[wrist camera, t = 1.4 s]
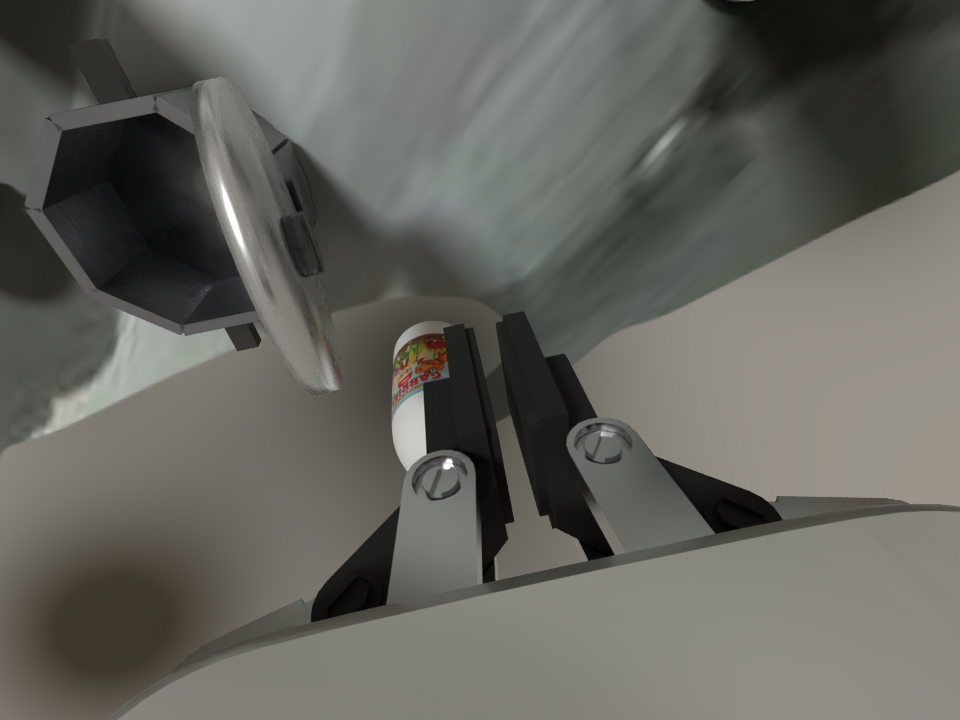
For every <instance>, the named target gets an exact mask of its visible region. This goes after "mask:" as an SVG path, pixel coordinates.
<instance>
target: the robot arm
mask: <svg viewBox="0 0 960 720" xmlns="http://www.w3.org/2000/svg"><path fill="white" fill-rule="evenodd" d="M728 1H733V2H742V1H753V0H728ZM496 329H497V335H498V342H499V348H500V354H501V360H502V367H503V373H504V379H505V385H506V392H507V398H508V404H509V409H510V413H511V417H512V420H513V424H514V427H515V431H516V434H517V438H518V441H519V445H520V449H521V452H522V456H523V459H524V463H525V466H526V469H527V473H528V477H529V480H530V484H531V487H532V490H533V495H534V498H535V501H536V505H537V508H538V512H539V515H540V516H545V515H548V516H549V519H550V522H551V526H552V529H554V528H557V529H559V530H561V531H563V532H565V533H567V534H569V535H571V536H572V537H573V540H574V544H575V547H576V549H577V552H578V554H579V556H580V558H581V560H582V562H581V563H576V564H572V565H567V566H562V567H558V568H553V569H549V570H544V571H539V572H535V573H530V574H526V575H521V576H516V577H512V578H507V579H502V580H498V564H497V559H496V554H497V553H498V552H499V551H500V549H501V548H502V546H503V545H504V544H505V542H506V541H507V540H508V536H507V531H506V526H505V524H507V523H512V522H514V518H513V512H512V507H511V501H510V496H509V491H508V485H507V480H506V475H505V469H504V464H503V459H502V453H501V448H500V442H499V437H498V432H497V428H496V423H495V418H494V414H493V410H492V406H491V401H490V397H489V393H488V389H487V384H486V380H485V376H484V372H483V368H482V363H481V359H480V355H479V351H478V347H477V342H476V338H475V334H474V329H473V328H468V329H465V328H464V324H460V325H454V326H450V327H445V328H443V331H444V339H445V347H446V354H447V362H448V370H449V378H444V379H439V380H434V381H430V382H425V383H423V395H424V415H425V435H426V454H427V455H425V456H423V457H421V458H420V459H419V460H417V461H416V462H415V463H414V464H413V465H412V466H411V467H410V469H409V470H408V472H407V474H406V477H405V480H404V485H403V492H402V499H401V505H400V506H399V507H398V508H397V510H395V511H394V512H393V514H392V515H391V516H390V517H389V518H388V519H387V520H386V521H385V522H384V523H383V524H382V525H381V526H380V527H379V528H378V529H377V530H376V531H375V532H374V533H373V534H372V535H371V536H370V537H369V538H368V539H367V540H366V541H365V543H363V544H362V546H361V547H360V548H359V549H358V550H357V551H356V552H355V553H354V554H353V555H352V556H351V557H350V558H349V559H348V560H347V561H346V562H345V563H344V564H343V565H342V566H341V567H340V568H339V569H338V570H337V571H336V572H335V573H334V574H333V576H331V578H330V579H329V580H328V581H327V582H326V583H325V584H324V586H323V587H322V588H321V590H320V591H319V592H318V594H317V596H316V598H314V599H312V600H310V601H308V602H306V603H305V602H304V601H303V600H302V598H301V599H299V600H297V601H295V602H292V603H290V604H288V605H286V606H284V607H282V608H280V609H278V610H276V611H274V612H271V613H269V614H267V615H265V616H263V617H261V618H259V619H257V620H254V621H252V622H250V623H248V624H247V625H244V626H242V627H240V628H238V629H236V630H233V631H231V632H229V633H227V634H225V635H223V636H221V637H219V638H217V639H214V640H212V641H211V642H208V643H206V644H204V645H202V646H200V647H199V648H198V649H196V650H194V651H193V652H191V653H189V654H188V655H187V656H186V657H185V658H184V659H183V660H182V661H181V662H180V663H179V664H178V665H177V666H176V667H175V669H174V670H173V672H172V673H171V675H169V676H167V677H166V678H164V679H162V680H161V681H159V682H157V683H156V684H154V685H152V686H151V687H149V688H148V689H146V690H145V691H143V692H142V693H140V694H139V695H137V696H136V697H135V698H134V699H132V700H130V701H129V702H128V703H127V704H125V705H124V706H123V707H122V708H120V709H119V710H118V711H117V712H115V713H114V714H113V715H112V716H111V717H110V718H109V719H107V720H960V507H958V506H949V505H941V504H909V503H906V502H904V501H901V500H894V499H887V498H848V497H797V496H777V498H776V501H775V502H767V501H766V500H764V499H763V498H762V497H760V496H758V495H756V494H754V493H752V492H750V491H748V490H745V489H742V488H740V487H737V486H734V485H731V484H729V483H726V482H723V481H721V480H718V479H715V478H712V477H710V476H707V475H704V474H702V473H699V472H696V471H694V470H691V469H688V468H686V467H683V466H680V465H677V464H675V463H672V462H669V461H667V460H664V459H661V458H659V457H656V456H654V455H653V453H652V452H651V451H650V449H649V448H648V447H647V445H646V444H645V443H644V442H643V440H642V439H641V438H640V437H639V435H638V434H637V433H636V432H635V431H634V430H633V429H632V428H631V427H630V426H629V425H627V424H625V423H623V422H621V421H619V420H615V419H611V418H598V417H597V415H596V413H595V411H594V409H593V407H592V405H591V404H590V402H589V400H588V398H587V396H586V394H585V392H584V390H583V388H582V386H581V384H580V382H579V380H578V378H577V376H576V374H575V372H574V370H573V368H572V366H571V364H570V362H569V360H568V358H567V357H566V355H565V354H560V355H555V356H550V357H546V358H544V356H543V354H542V351H541V349H540V347H539V345H538V342H537V340H536V338H535V335H534V333H533V331H532V329H531V326H530V324H529V322H528V319H527V317H526V315H525V313H524V312H518V313H513V314H508V315H503V321H502V322H497V323H496Z"/></svg>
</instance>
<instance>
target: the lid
mask: <svg viewBox="0 0 960 720" xmlns="http://www.w3.org/2000/svg"><path fill="white" fill-rule="evenodd" d="M190 107H191V118H192V124H193V130H194V136H195V140H196V145H197V149H198V153H199V157H200V161H201V165H202V169H203V172H204V176H205V179H206V183H207V186H208V189H209V192H210V195H211V199H212V202H213V205H214V208H215V211H216V214H217V217H218V219H219V222H220V225H221V228H222V231H223V233H224V236H225V239H226V242H227V244H228V247H229V249H230V252H231V254H232V257H233V259H234V262H235V264H236V267H237V269H238V272H239V274H240V276H241V278H242V281H243V283H244V285H245V288H246V290H247V292H248V295H249V297H250V299H251V301H252V303H253V305H254V307H255V309H256V311H257V314H258V316H259V318H260V320H261V322H262V324H263V326H264V328H265V329H266V331H267V333H268V335H269V337H270V339H271V341H272V343H273V344H274V346H275V348H276V349H277V351H278V353H279V355H280V357H281V358H282V360H283V361H284V363H285V364H286V366H287V367H288V369H289V371H290V372H291V373H292V375H293V376H294V377H295V379H296V380H297V381H298V383H299V384H300V385H301V386H302V387H303V388H304V389H305V390H306V391H307V392H309V393H310V394H311V395H315V396H318V395H321V394H325V393H328V392H331V391H334V390H337V389H340V388H341V386H342V365H341V358H340V352H339V347H338V342H337V338H336V334H335V329H334V325H333V321H332V317H331V314H330V310H329V306H328V303H327V299H326V296H325V293H324V289H323V286H322V283H321V280H320V277H319V274H321V273H324V272H325V270H324V265H323V261H322V257H321V254H320V251H319V248H318V245H317V242H316V239H315V236H314V233H313V231H312V228H311V226H310V223H309V221H308V219H307V217H306V215H305V213H304V212H303V211H302V212H298V213H297V211H296V209H295V206H294V203H293V201H292V198H291V196H290V193H289V191H288V189H287V186H286V184H285V181H284V179H283V176H282V174H281V172H280V169H279V167H278V165H277V163H276V160H275V158H274V156H273V154H272V151H271V149H270V147H269V145H268V143H267V141H266V139H265V136H264V134H263V132H262V130H261V128H260V126H259V124H258V122H257V120H256V119H255V117H254V115H253V113H252V111H251V109H250V108H249V106H248V104H247V103H246V101H245V99H244V98H243V96H242V95H241V93H240V92H239V90H238V89H237V87H236V86H235V85H234V84H233V82H232V81H230V80H229V79H228V78H227V77H218V78H213V79H208V80H203V81H198V82H196V83H194V84H193V86H192V89H191V96H190Z"/></svg>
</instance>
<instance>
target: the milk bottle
mask: <svg viewBox="0 0 960 720" xmlns="http://www.w3.org/2000/svg"><path fill="white" fill-rule="evenodd" d="M450 326H454V325H452V324H449V323H447V322H443V321H426V322H421V323H418V324H416V325H414V326H412V327H411V328H409V329H408V330H407V331H405V333H403V334H402V336H401V337H400V338H399V339H398V341H397V343H396V346H395V350H394V361H393V388H392V433H393V434H392V435H393V441H394V446H395V449H396V452H397V455H398V457H399V459H400V461H401V463H402V464H403V466H404V467H405V469H406V470H407V472H408V470H409V469H410V467H411V466H412V465H413V464H414V463H415V462H416V461H417V460H419V459H420V458H421V457H423V456H425V455H427V454H426V435H425V415H424V395H423V383H425V382H430V381H434V380H439V379H444V378H449V370H448V362H447V354H446V347H445V339H444V331H443V328H445V327H450Z"/></svg>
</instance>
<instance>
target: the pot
mask: <svg viewBox="0 0 960 720" xmlns="http://www.w3.org/2000/svg"><path fill="white" fill-rule="evenodd" d="M67 46H68V48H69V50H70V51H71V53H72V55H73V57H74V59H75V60H76V62H77V64H78V66H79V68H80V69H81V71H82V73H83V75H84V76H85V78H86V80H87V82H88V84H89V85H90V87H91V89H92V91H93V93H94V94H95V96H96V98H97V100H98V102H99V103H100V104H99V105H94V106H89V107H85V108H80V109H75V110H70V111H65V112H61V113H56V114H51V115H49V117H48V118H45V120H44V124H43V129H42V133H41V137H40V141H39V145H38V150H37V154H36V158H35V162H34V167H33V171H32V175H31V179H30V184H29V188H28V192H27V196H26V201H25V205H24V206H26V207H29V208H30V209H27V210H26V211H27V213H28V214H29V216H30V217H31V218H32V220H33V221H34V222H35V224H36V225H37V227H38V228H39V229H40V231H41V232H42V234H43V235H44V236H45V238H46V239H47V240H48V242H49V243H50V245H51V246H52V247H53V249H54V250H55V252H56V253H57V254H58V256H59V257H60V258H61V260H62V261H63V263H64V264H65V265H66V267H67V268H68V270H69V271H70V272H71V274H72V275H73V276H74V278H75V279H76V281H77V282H78V283H79V285H80V286H81V287H82V289H83V290H84V292H85V293H86V294H90V293H92V294H91V298H93V299H96V300H98V301H100V302H103V303H105V304H108V305H110V306H112V307H115V308H117V309H119V310H122V311H124V312H127V313H129V314H131V315H134V316H136V317H139V318H141V319H143V320H146V321H148V322H151V323H153V324H155V325H158V326H160V327H163V328H165V329H167V330H170V331H172V332H174V333H177V334H179V335H182V333H184V334H185V336H187V335H192V334H197V333H202V332H207V331H211V330H216V329H221V328H225V330H226V331H227V333H228V335H229V337H230V339H231V340H232V342H233V344H234V346H235V348H236V349H237V351H240V350H245V349H250V348H255V347H258V346H259V344H260V342H261V338H260V336H259V334H258V332H257V330H256V328H255V326H254V324H253V322H256V321H261V320H260V318H259V316H258V314H257V311H256V309H255V307H254V305H253V303H252V301H251V299H250V297H249V295H248V292H247V290H246V288H245V285H244V283H243V281H242V278H241V276H240V274H239V272H238V269H237V267H236V264H235V262H234V259H233V257H232V254H231V252H230V249H229V247H228V244H227V242H226V239H225V236H224V233H223V231H222V228H221V225H220V222H219V219H218V217H217V214H216V211H215V208H214V205H213V202H212V199H211V195H210V192H209V189H208V186H207V183H206V179H205V176H204V172H203V169H202V165H201V161H200V157H199V153H198V149H197V145H196V140H195V136H194V130H193V124H192V118H191V107H190V96H191V89H192V86H191V87H186V88H180V89H175V90H170V91H165V92H160V93H155V94H149V95H144V96H139V97H137V96H136V94H135V92H134V90H133V88H132V86H131V84H130V82H129V80H128V78H127V76H126V74H125V72H124V71H123V69H122V67H121V65H120V63H119V61H118V59H117V57H116V55H115V53H114V51H113V49H112V47H111V45H110V43H109V41H108V39H94V40H89V41H84V42H78V43H73V44H68V45H67ZM251 111H252V110H251ZM252 113H253V115H254V117H255V119H256V120H257V122H258V124H259V126H260V128H261V130H262V132H263V134H264V136H265V139H266V141H267V143H268V145H269V147H270V149H271V151H272V154H273V156H274V158H275V160H276V163H277V165H278V167H279V169H280V172H281V174H282V176H283V179H284V181H285V184H286V186H287V189H288V191H289V193H290V196H291V198H292V201H293V203H294V206H295V209H296V211H297V213H298V212H302V211H303V212H304V213H305V215H306V217H307V219H308V221H309V223H310V226H311V228H312V229H313V227H314V225H315V223H316V221H317V219H316V218H317V213H316V211H315V208H314V205H313V202H312V196H311V190H310V186H309V183H308V179H307V176H306V174H305V172H304V169H303V167H302V165H301V163H300V161H299V159H298V158H297V156H296V154H295V152H294V150H293V147H292V144H291V141H286V139H287V137H286V136H285V135H283V134H282V133H280V132H278V131H277V130H276V129H275V128H274V127H273V126H271V125H270V124H269V123H268V122H267V121H266V120H265V119H263V118H262V117H261V116H259V115H258V114H257V113H255V112H254V111H252Z"/></svg>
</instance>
